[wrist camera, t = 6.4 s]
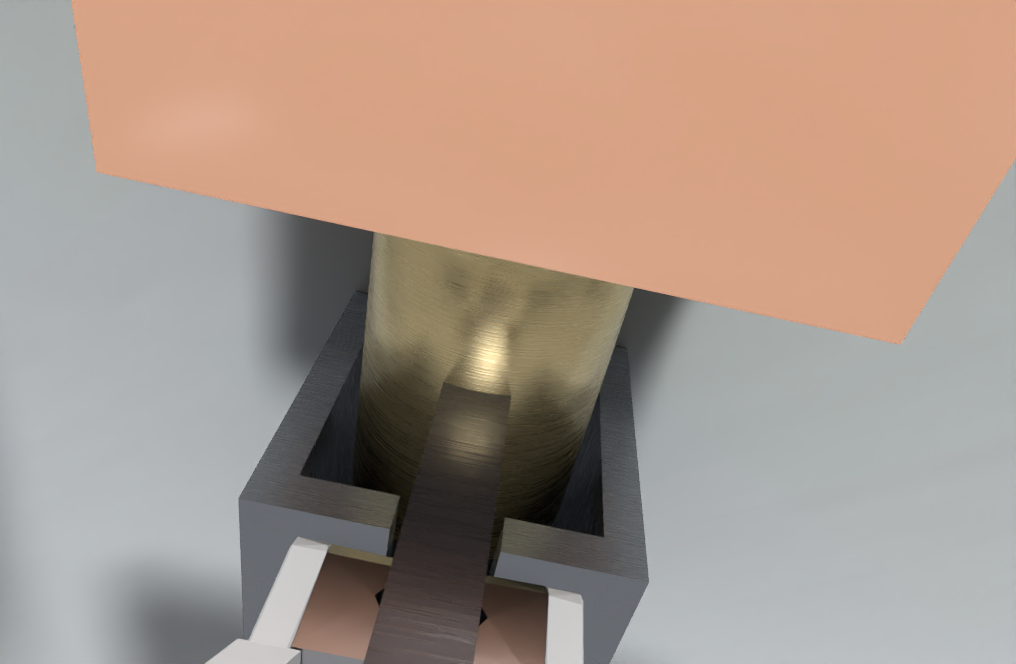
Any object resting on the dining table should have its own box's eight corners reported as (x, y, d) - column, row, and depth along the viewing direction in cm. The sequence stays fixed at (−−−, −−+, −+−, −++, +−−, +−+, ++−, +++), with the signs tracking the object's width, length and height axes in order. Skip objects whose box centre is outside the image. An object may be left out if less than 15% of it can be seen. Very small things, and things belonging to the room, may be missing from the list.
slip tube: (725, -88, 12) (1163, -10, 3) (564, 425, 19) (546, 936, 9) (443, -153, 12) (-13, -283, 3) (382, 387, 18) (187, 868, 9)
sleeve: (627, 348, 18) (648, 582, 12) (541, 593, 24) (526, 834, 18) (355, 291, 18) (238, 498, 12) (335, 552, 24) (249, 780, 18)
